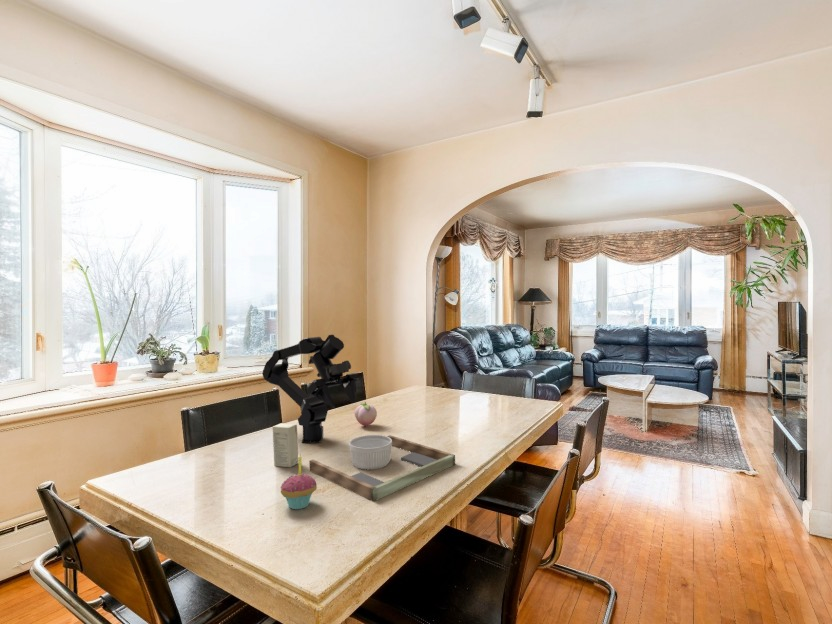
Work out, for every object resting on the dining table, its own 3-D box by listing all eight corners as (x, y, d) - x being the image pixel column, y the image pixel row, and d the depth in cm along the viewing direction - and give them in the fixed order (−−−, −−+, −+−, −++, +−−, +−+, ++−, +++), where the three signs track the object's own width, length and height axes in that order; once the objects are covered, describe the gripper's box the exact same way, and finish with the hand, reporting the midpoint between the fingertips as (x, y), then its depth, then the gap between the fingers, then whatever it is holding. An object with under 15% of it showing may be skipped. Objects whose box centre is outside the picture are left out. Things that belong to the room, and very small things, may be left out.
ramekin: (341, 468, 127) (341, 445, 127) (361, 453, 139) (361, 432, 139) (381, 474, 123) (381, 450, 122) (399, 458, 135) (398, 436, 135)
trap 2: (400, 459, 133) (400, 457, 133) (414, 454, 138) (414, 452, 138) (424, 468, 126) (424, 465, 126) (437, 462, 131) (437, 459, 131)
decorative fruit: (381, 427, 169) (380, 402, 168) (362, 431, 164) (362, 405, 164) (369, 422, 176) (369, 398, 176) (352, 425, 172) (351, 401, 172)
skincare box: (299, 462, 132) (298, 423, 132) (290, 468, 128) (289, 427, 127) (281, 460, 134) (280, 422, 134) (272, 465, 130) (272, 426, 130)
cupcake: (285, 497, 108) (284, 451, 108) (319, 496, 109) (318, 449, 108) (277, 514, 99) (276, 463, 99) (314, 512, 100) (313, 462, 100)
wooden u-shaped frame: (309, 470, 126) (309, 460, 125) (390, 443, 149) (389, 435, 149) (373, 501, 105) (373, 489, 105) (455, 464, 129) (455, 454, 129)
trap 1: (344, 481, 117) (344, 478, 117) (361, 475, 122) (361, 472, 122) (367, 492, 110) (367, 489, 110) (384, 485, 115) (384, 482, 115)
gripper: (314, 355, 138) (334, 396, 132) (356, 350, 152) (376, 387, 146) (298, 375, 143) (317, 415, 137) (340, 368, 158) (359, 404, 152)
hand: (344, 404), depth 143 cm, fingers open, 9 cm apart
